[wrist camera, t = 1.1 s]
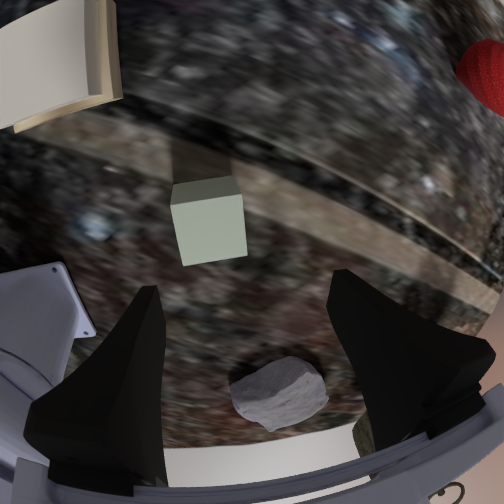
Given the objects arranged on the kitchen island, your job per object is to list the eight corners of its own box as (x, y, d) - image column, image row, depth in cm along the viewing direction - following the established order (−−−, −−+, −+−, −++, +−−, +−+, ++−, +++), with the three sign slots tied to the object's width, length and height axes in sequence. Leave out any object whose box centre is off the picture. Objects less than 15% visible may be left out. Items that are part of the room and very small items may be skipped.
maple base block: (35, 126, 15) (14, 133, 12) (27, 39, 11) (6, 34, 9) (124, 97, 16) (113, 98, 13) (117, 5, 12) (106, -8, 10)
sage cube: (183, 236, 21) (183, 266, 18) (173, 184, 19) (170, 205, 16) (237, 227, 22) (247, 255, 18) (232, 175, 20) (241, 194, 16)
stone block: (290, 336, 32) (219, 386, 31) (313, 364, 28) (233, 419, 27) (321, 375, 38) (264, 415, 38) (339, 398, 34) (279, 440, 34)
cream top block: (18, 123, 12) (-3, 130, 10) (12, 37, 9) (-9, 34, 7) (102, 94, 13) (88, 95, 11) (97, 2, 10) (84, -10, 8)
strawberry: (444, 24, 15) (535, 27, 7) (483, 79, 18) (563, 100, 10) (422, 65, 17) (522, 78, 9) (465, 120, 20) (548, 151, 12)
